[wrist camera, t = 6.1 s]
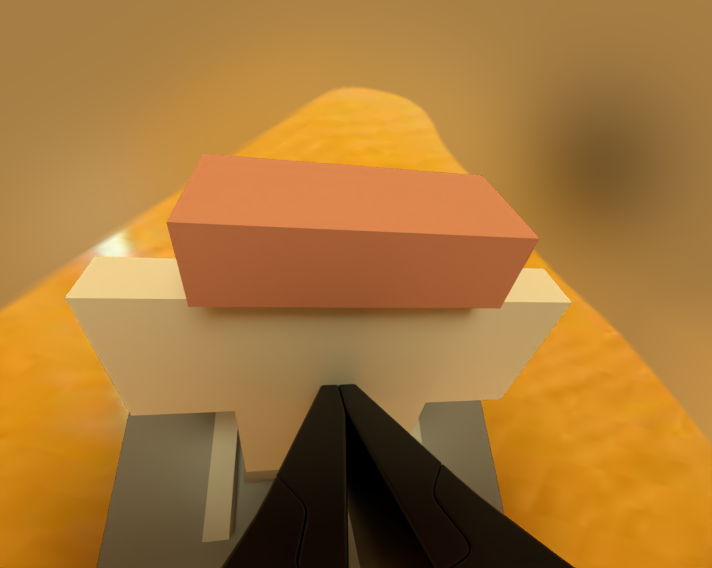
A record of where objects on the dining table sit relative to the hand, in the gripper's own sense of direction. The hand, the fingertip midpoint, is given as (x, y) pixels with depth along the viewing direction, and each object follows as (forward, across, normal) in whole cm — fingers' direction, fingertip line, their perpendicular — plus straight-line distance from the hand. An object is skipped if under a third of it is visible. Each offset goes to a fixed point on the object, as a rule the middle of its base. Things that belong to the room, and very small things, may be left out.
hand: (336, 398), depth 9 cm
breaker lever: (+3, 0, +5) cm, 6 cm away
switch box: (+5, 0, +7) cm, 9 cm away
